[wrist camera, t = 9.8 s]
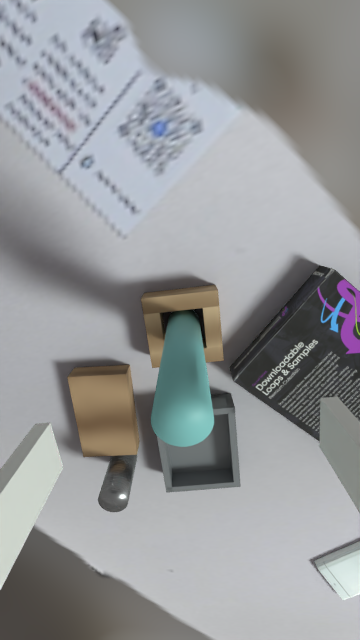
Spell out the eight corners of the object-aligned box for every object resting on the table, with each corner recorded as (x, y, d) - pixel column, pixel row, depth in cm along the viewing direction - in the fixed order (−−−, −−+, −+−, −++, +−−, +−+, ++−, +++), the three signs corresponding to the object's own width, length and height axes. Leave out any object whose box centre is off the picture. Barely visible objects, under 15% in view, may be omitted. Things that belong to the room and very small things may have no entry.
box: (444, 370, 33) (318, 261, 29) (474, 386, 29) (337, 266, 25) (349, 453, 36) (226, 365, 32) (367, 476, 32) (232, 382, 29)
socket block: (144, 292, 29) (140, 298, 27) (215, 284, 29) (217, 290, 27) (154, 357, 31) (152, 367, 29) (220, 350, 31) (223, 360, 29)
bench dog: (109, 447, 35) (95, 490, 29) (134, 445, 35) (125, 488, 29) (114, 467, 36) (101, 513, 30) (138, 465, 36) (130, 510, 30)
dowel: (166, 309, 30) (146, 396, 15) (197, 305, 30) (211, 389, 14) (170, 338, 31) (155, 449, 16) (200, 335, 31) (216, 443, 15)
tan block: (75, 365, 32) (67, 377, 30) (130, 363, 32) (126, 374, 30) (90, 441, 35) (83, 456, 33) (140, 439, 35) (136, 454, 33)
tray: (155, 400, 33) (153, 415, 31) (230, 393, 33) (234, 407, 30) (167, 474, 36) (166, 492, 34) (236, 468, 36) (240, 486, 33)
